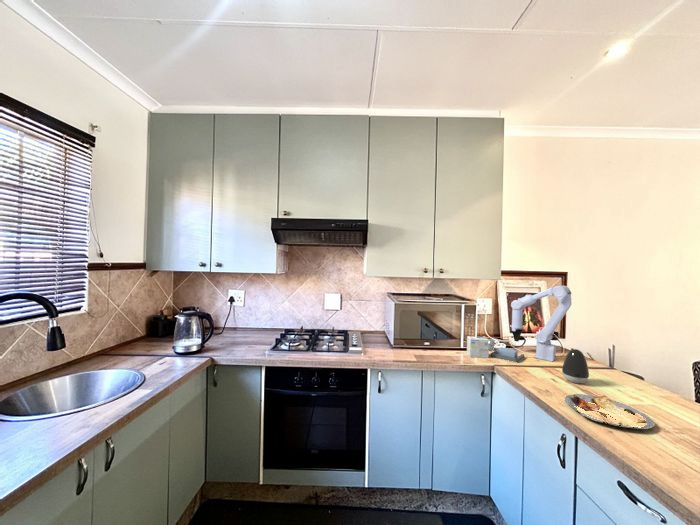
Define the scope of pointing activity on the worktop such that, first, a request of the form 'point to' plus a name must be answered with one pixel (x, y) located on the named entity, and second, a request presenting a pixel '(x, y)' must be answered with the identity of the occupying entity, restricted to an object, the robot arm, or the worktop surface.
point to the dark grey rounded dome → (575, 367)
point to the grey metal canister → (491, 344)
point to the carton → (507, 352)
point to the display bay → (494, 354)
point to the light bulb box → (477, 347)
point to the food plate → (604, 407)
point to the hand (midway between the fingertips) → (516, 341)
